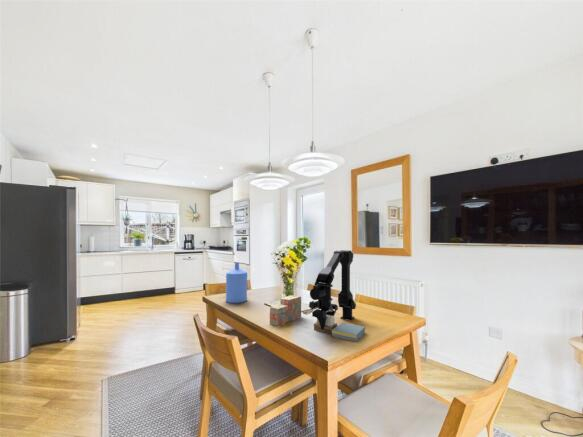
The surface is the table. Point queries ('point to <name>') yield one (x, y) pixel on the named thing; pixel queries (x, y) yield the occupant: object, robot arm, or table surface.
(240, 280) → the water jug
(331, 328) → the pallet
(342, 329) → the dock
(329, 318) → the off-white carton
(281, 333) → the table surface
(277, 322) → the stack of blocks
